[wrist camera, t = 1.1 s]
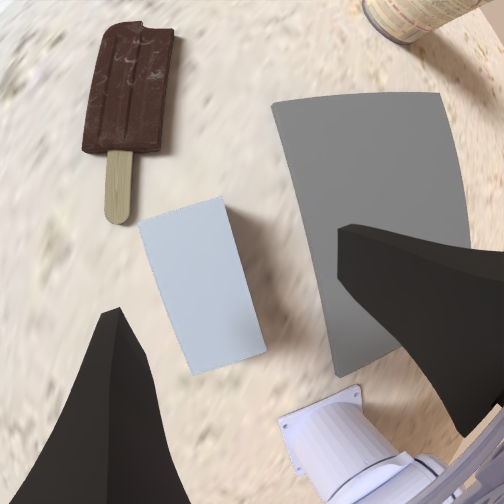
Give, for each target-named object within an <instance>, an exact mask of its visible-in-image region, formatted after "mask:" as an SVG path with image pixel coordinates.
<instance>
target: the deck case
mask: <svg viewBox="0 0 504 504" xmlns="http://www.w3.org/2000/svg"><path fill="white" fill-rule="evenodd" d="M137 225H138V228H139V231H140V235H141V238H142V241H143V244H144V247H145V251H146V254H147V257H148V260H149V263H150V266H151V269H152V272H153V275H154V278H155V281H156V284H157V286H158V289H159V292H160V295H161V298H162V300H163V303H164V306H165V308H166V311H167V314H168V316H169V319H170V322H171V324H172V327H173V329H174V332H175V334H176V337H177V339H178V342H179V344H180V347H181V349H182V352H183V354H184V356H185V359H186V361H187V363H188V366H189V368H190V370H191V373H192V375H193V376H194V375H198V374H201V373H204V372H207V371H211V370H214V369H217V368H220V367H223V366H226V365H229V364H232V363H235V362H238V361H241V360H244V359H247V358H250V357H252V356H255V355H258V354H261V353H264V352H266V351H267V350H266V346H265V343H264V340H263V336H262V333H261V330H260V326H259V323H258V319H257V316H256V313H255V309H254V306H253V303H252V299H251V296H250V292H249V289H248V286H247V282H246V279H245V275H244V272H243V268H242V265H241V261H240V258H239V255H238V251H237V248H236V244H235V241H234V237H233V234H232V230H231V227H230V223H229V220H228V216H227V213H226V209H225V206H224V202H223V199H222V196H221V197H218V198H214V199H211V200H207V201H204V202H200V203H197V204H194V205H190V206H187V207H184V208H180V209H177V210H174V211H171V212H168V213H164V214H161V215H158V216H155V217H152V218H149V219H146V220H143V221H140V222H137Z"/></svg>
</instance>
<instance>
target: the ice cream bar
mask: <svg viewBox="0 0 504 504" xmlns="http://www.w3.org/2000/svg"><path fill="white" fill-rule="evenodd" d="M173 40H174V30H173V29H172V28H171V29H152V28H146V27H144V26H143V23H142V21H134V22H122V23H118V24H115V25H113V26H111V27H110V28H109V29H108V30H106V32H105V33H104V35H103V38H102V42H101V45H100V49H99V53H98V57H97V61H96V66H95V70H94V75H93V79H92V84H91V89H90V95H89V100H88V106H87V112H86V119H85V126H84V133H83V142H82V151H84V152H85V153H106V152H108V155H107V167H106V182H105V207H104V212H105V217H106V219H107V220H108V221H109V222H110V223H112V224H121V223H123V222H125V221H126V220H127V219H128V217H129V215H130V205H131V181H132V165H133V153H149V152H158V151H160V144H161V132H162V122H163V112H164V103H165V94H166V86H167V79H168V72H169V65H170V58H171V52H172V46H173Z"/></svg>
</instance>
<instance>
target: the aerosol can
mask: <svg viewBox="0 0 504 504" xmlns="http://www.w3.org/2000/svg"><path fill="white" fill-rule="evenodd" d="M490 1H493V0H363V1H362V7H363V10H364V13H365V15H366V17H367V18H368V20H369V22H370V23H371V24H372V25H373V26H374V27H375V28H376V30H377V31H379V32H380V33H381V34H382V35H383V36H385V37H386V38H388V39H389V40H391V41H393V42H395V43H398V44H401V45H409V44H411V43H412V42H414V41H416V40H418V39H419V38H421V37H423V36H425V35H426V34H428V33H430V32H432V31H433V30H435V29H437V28H439V27H441V26H443V25H444V24H446V23H448V22H450V21H452V20H454V19H456V18H458V17H460V16H462V15H464V14H466V13H468V12H470V11H472V10H474V9H476V8H478V7H480V6H482V5H484V4H486V3H488V2H490Z"/></svg>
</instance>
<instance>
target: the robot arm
mask: <svg viewBox="0 0 504 504" xmlns="http://www.w3.org/2000/svg"><path fill="white" fill-rule="evenodd" d="M337 279H338V280H339V281H340V282H341V284H342V285H343V286H344V288H345V289H346V290H347V291H348V293H349V294H350V295H351V296H352V297H353V299H354V300H355V301H356V302H357V303H358V304H359V305H361V306H362V307H363V308H364V309H365V310H366V311H367V312H368V313H369V314H370V315H371V316H372V317H373V318H374V319H375V320H376V321H377V322H379V323H380V324H381V325H382V326H383V327H384V328H385V329H386V330H387V331H388V332H389V333H390V334H391V335H392V336H393V337H394V338H395V339H396V340H397V341H398V342H399V343H400V344H401V345H402V346H403V347H404V348H405V350H406V351H407V352H408V353H409V355H410V356H411V357H412V358H413V360H414V361H415V362H416V363H417V365H418V366H419V367H420V369H421V370H422V371H423V373H424V374H425V376H426V377H427V378H428V380H429V381H430V383H431V384H432V386H433V387H434V389H435V391H436V392H437V394H438V395H439V397H440V399H441V400H442V402H443V404H444V405H445V407H446V409H447V411H448V413H449V415H450V417H451V419H452V421H453V423H454V425H455V427H456V429H457V431H458V432H459V433H460V434H461V435H462V436H463V437H464V438H465V437H467V435H468V434H469V433H471V431H472V430H473V429H474V428H475V427H476V426H477V425H478V424H479V423H480V422H481V421H482V420H483V419H484V418H485V417H486V415H487V414H488V413H489V412H490V411H491V410H492V409H493V407H494V406H495V405H496V404H497V403H498V404H499V405H500V406H501V407H502V409H501V410H500V411H499V413H498V414H497V415H496V416H495V418H494V419H493V420H492V421H491V422H490V424H489V425H488V426H487V427H486V428H485V429H484V431H483V432H482V433H481V434H480V435H479V436H478V437H477V438H476V440H475V441H474V442H473V443H472V444H471V445H470V446H469V447H468V448H467V449H466V450H465V451H464V453H462V454H461V455H460V457H458V458H457V459H456V460H455V461H454V462H453V463H452V464H451V465H450V466H448V465H447V464H446V463H445V462H444V461H442V460H441V459H440V458H438V457H437V456H435V455H433V454H424V453H419V454H417V455H416V456H415V457H414V458H412V457H411V456H410V455H409V454H408V453H407V452H406V451H403V452H402V453H400V452H399V451H398V450H397V449H396V448H395V447H394V446H393V445H392V444H391V443H390V442H389V441H388V440H387V439H386V438H385V437H384V436H383V435H382V434H381V433H380V432H379V431H378V430H377V428H376V427H375V426H374V425H373V424H372V423H371V422H370V421H369V420H368V419H367V418H366V417H365V416H364V415H363V407H362V397H361V388H360V386H359V385H353V386H351V387H349V388H347V389H345V390H343V391H341V392H339V393H337V394H335V395H332V396H330V397H328V398H326V399H324V400H321V401H319V402H317V403H315V404H312V405H310V406H308V407H305V408H303V409H301V410H298V411H296V412H293V413H291V414H288V415H286V416H283V417H281V418H280V419H279V420H278V424H279V427H280V430H281V432H282V435H283V438H284V441H285V444H286V447H287V450H288V453H289V455H290V458H291V461H292V464H293V467H294V470H295V472H296V475H297V476H303V475H305V474H306V475H307V477H308V478H309V480H310V482H311V484H312V485H313V487H314V489H315V491H316V492H317V494H318V496H319V498H320V499H321V501H322V503H323V504H504V442H502V443H501V444H500V445H499V446H498V447H497V445H498V444H499V443H500V442H501V440H502V439H503V438H504V252H499V251H486V250H476V249H469V248H462V247H456V246H450V245H445V244H440V243H436V242H431V241H427V240H423V239H419V238H414V237H410V236H407V235H403V234H399V233H395V232H391V231H387V230H383V229H378V228H374V227H370V226H365V225H359V224H349V225H346V226H344V227H341V228H338V253H337ZM355 393H356V394H355ZM286 424H287V425H286ZM284 425H286V426H284ZM496 447H497V448H496ZM495 448H496V449H495ZM494 449H495V450H494ZM493 450H494V451H493ZM480 465H481V466H480ZM479 466H480V467H479ZM478 468H479V469H478ZM477 469H478V470H477ZM476 470H477V472H476V474H475V478H476V479H477V480H476V481H475V482H474V483H473V484H472V485H471V486H470V487H468V488H467V489H465V486H464V484H463V483H464V482H465V481H466V480H467V479H468V478H469V477H470V476H471V475H472V474H473V473H474V472H475V471H476ZM9 504H191V503H190V501H189V498H188V496H187V494H186V492H185V490H184V488H183V485H182V483H181V481H180V478H179V476H178V473H177V471H176V468H175V466H174V463H173V461H172V458H171V455H170V452H169V448H168V445H167V441H166V437H165V433H164V428H163V424H162V419H161V415H160V410H159V405H158V400H157V395H156V390H155V385H154V381H153V377H152V374H151V370H150V367H149V364H148V360H147V357H146V354H145V352H144V350H143V349H142V347H141V345H140V343H139V342H138V340H137V338H136V336H135V334H134V333H133V331H132V329H131V327H130V325H129V323H128V322H127V320H126V318H125V316H124V314H123V312H122V310H121V308H120V307H119V308H116V309H113V310H110V311H107V312H104V313H102V314H101V316H100V318H99V320H98V323H97V325H96V328H95V330H94V333H93V336H92V338H91V341H90V343H89V346H88V349H87V351H86V354H85V357H84V359H83V362H82V364H81V367H80V370H79V372H78V375H77V377H76V380H75V382H74V384H73V387H72V389H71V392H70V394H69V397H68V399H67V401H66V404H65V406H64V408H63V410H62V412H61V415H60V417H59V419H58V421H57V423H56V425H55V427H54V429H53V431H52V433H51V435H50V437H49V439H48V441H47V442H46V444H45V446H44V448H43V449H42V451H41V453H40V455H39V457H38V459H37V461H36V462H35V464H34V466H33V468H32V469H31V471H30V472H29V474H28V476H27V477H26V479H25V481H24V482H23V484H22V485H21V487H20V488H19V490H18V491H17V493H16V494H15V496H14V497H13V499H12V500H11V502H10V503H9Z"/></svg>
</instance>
